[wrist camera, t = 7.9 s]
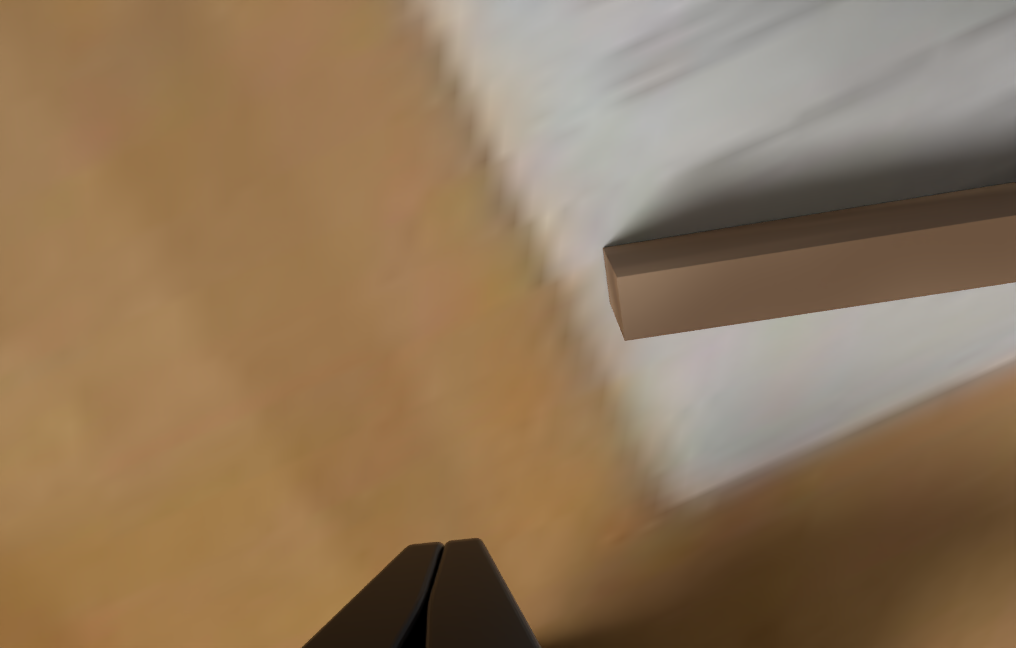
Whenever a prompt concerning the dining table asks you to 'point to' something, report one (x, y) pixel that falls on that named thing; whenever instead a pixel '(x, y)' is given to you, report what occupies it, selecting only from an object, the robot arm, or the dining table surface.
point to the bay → (814, 262)
